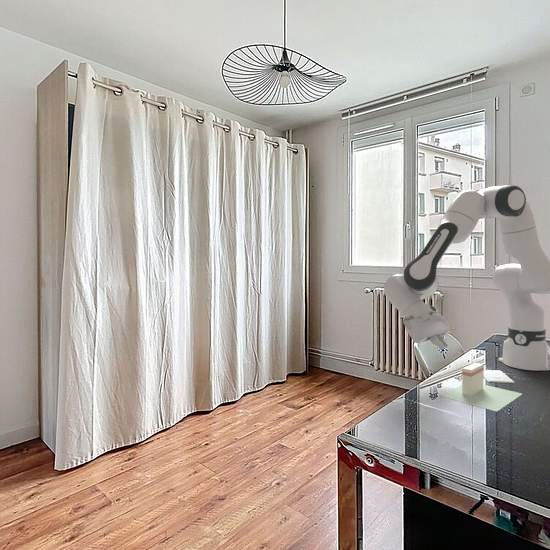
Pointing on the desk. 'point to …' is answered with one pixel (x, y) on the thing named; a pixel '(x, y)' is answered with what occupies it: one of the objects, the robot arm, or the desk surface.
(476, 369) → the card box
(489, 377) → the external hard drive
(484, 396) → the mat
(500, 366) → the desk surface
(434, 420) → the desk surface
